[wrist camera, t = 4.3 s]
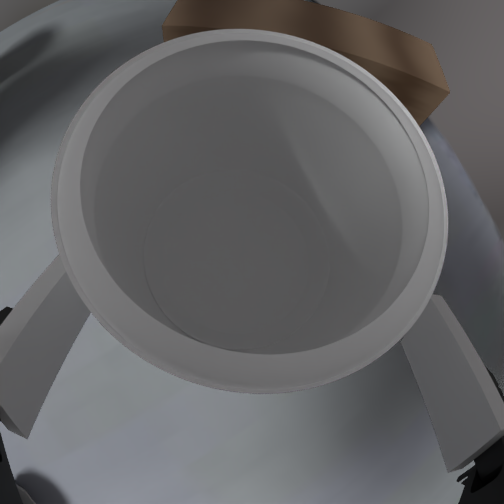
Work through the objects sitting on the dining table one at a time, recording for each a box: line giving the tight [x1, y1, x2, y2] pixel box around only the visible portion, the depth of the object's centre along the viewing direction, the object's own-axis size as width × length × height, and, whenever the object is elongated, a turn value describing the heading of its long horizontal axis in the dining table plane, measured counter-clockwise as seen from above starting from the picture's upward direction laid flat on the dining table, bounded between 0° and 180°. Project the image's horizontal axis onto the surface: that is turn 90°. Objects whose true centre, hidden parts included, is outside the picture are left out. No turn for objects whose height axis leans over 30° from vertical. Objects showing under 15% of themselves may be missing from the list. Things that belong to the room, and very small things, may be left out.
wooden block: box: [162, 0, 450, 126], centre depth 21 cm, size 20×10×9 cm, turn 83°
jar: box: [51, 29, 448, 394], centre depth 14 cm, size 11×10×15 cm
